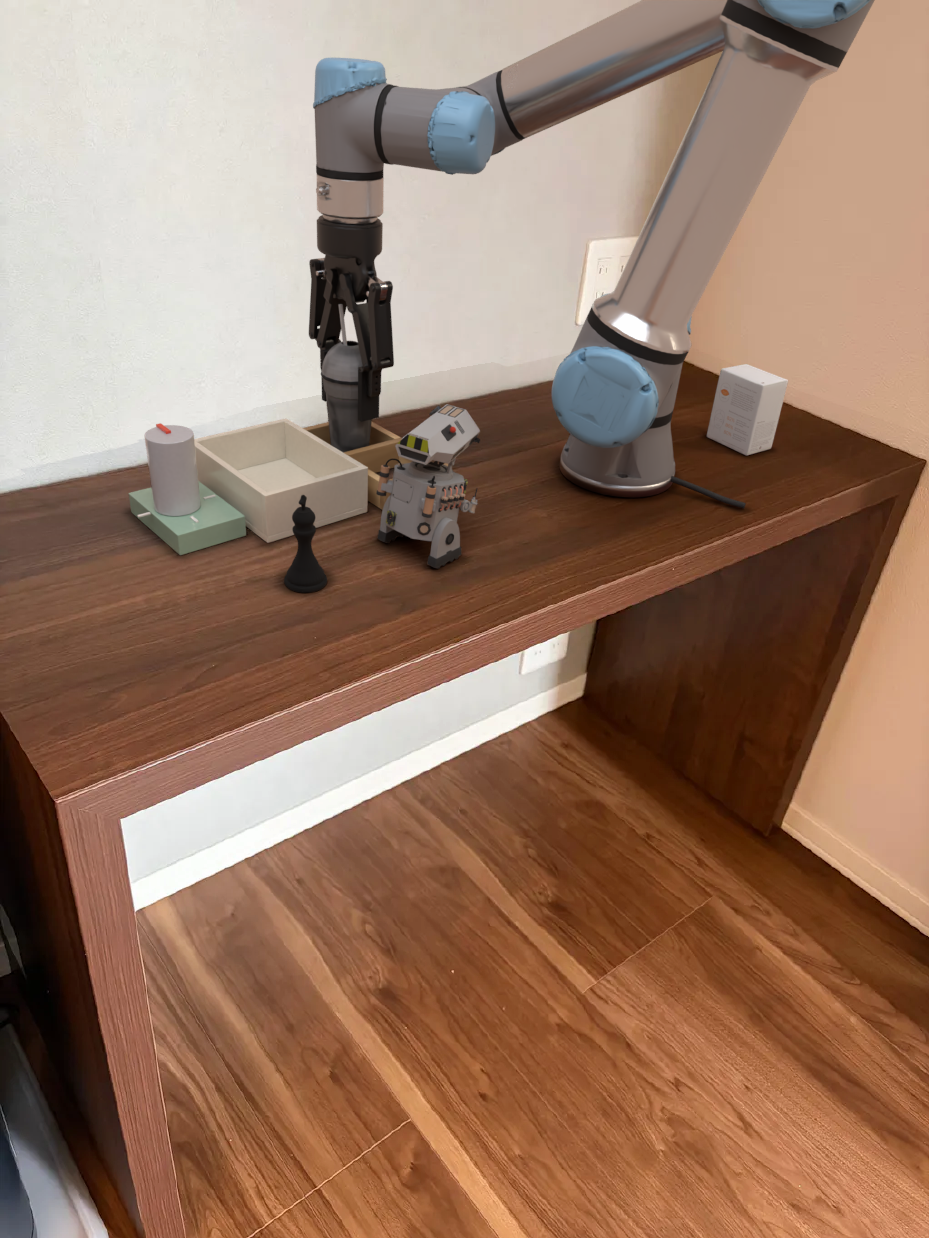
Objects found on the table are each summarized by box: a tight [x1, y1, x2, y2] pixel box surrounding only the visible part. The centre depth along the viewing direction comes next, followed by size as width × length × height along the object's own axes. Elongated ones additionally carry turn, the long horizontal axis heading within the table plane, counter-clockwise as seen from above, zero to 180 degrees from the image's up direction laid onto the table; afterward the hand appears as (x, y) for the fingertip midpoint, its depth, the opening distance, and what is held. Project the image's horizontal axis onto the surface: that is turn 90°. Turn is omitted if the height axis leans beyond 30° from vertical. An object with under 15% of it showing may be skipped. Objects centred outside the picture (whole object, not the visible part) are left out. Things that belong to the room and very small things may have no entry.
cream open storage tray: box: [194, 417, 369, 544], centre depth 109 cm, size 18×14×6 cm
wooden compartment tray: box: [302, 421, 448, 510], centre depth 117 cm, size 20×10×4 cm, turn 41°
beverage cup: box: [320, 304, 373, 453], centre depth 116 cm, size 7×7×20 cm
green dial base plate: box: [128, 481, 247, 556], centre depth 103 cm, size 12×10×3 cm
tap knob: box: [144, 422, 201, 516], centre depth 99 cm, size 5×5×9 cm
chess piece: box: [283, 495, 328, 594], centre depth 92 cm, size 4×4×10 cm
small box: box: [706, 363, 789, 456], centre depth 133 cm, size 8×6×10 cm
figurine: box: [376, 403, 481, 569], centre depth 100 cm, size 9×12×15 cm
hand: (349, 408), depth 117 cm, fingers closed on beverage cup, 7 cm apart
